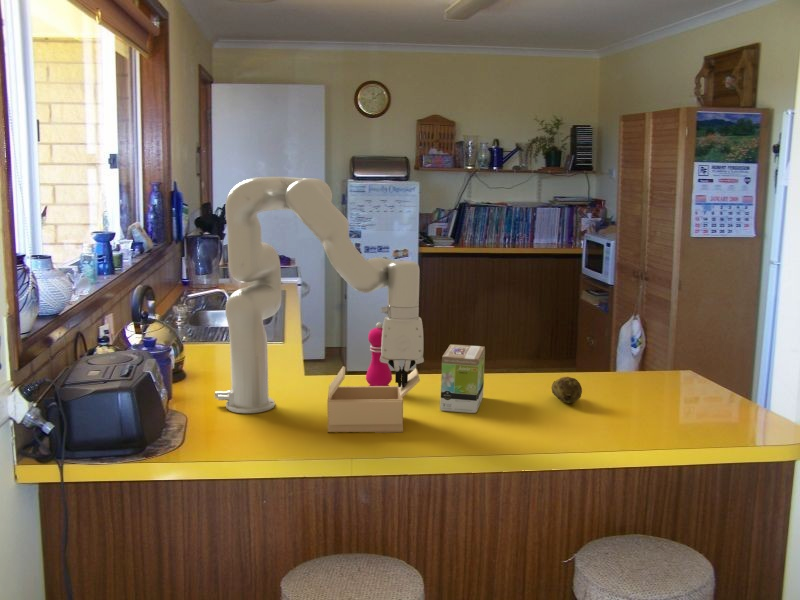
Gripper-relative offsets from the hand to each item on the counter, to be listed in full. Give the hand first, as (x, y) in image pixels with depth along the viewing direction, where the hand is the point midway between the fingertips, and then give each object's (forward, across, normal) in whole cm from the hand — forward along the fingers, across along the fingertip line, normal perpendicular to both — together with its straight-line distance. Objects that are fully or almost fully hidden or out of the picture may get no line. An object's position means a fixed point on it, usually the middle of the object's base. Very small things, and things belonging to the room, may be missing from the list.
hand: (401, 385), depth 207 cm
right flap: (+1, 0, 0) cm, 1 cm away
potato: (+10, +45, +17) cm, 49 cm away
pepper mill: (+10, -5, +27) cm, 29 cm away
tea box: (+10, +17, +16) cm, 26 cm away
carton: (+10, -9, 0) cm, 13 cm away
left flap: (+2, -17, 0) cm, 17 cm away
